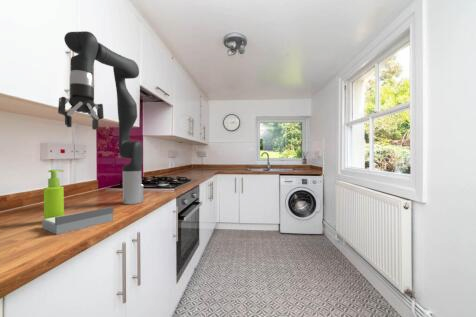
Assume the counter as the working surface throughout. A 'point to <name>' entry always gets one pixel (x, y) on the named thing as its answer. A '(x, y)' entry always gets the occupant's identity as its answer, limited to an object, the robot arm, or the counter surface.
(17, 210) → the counter surface
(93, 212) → the dock
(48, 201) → the soap dispenser
